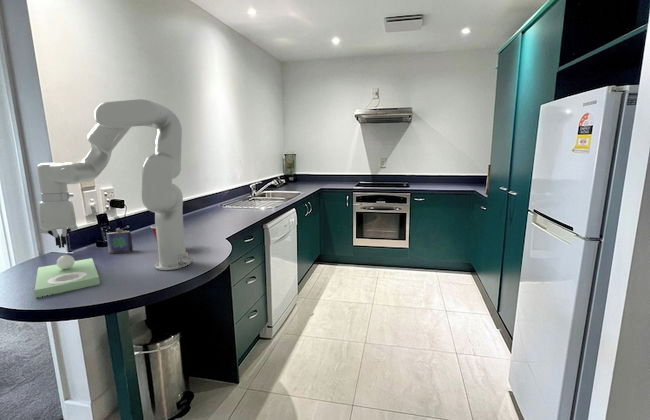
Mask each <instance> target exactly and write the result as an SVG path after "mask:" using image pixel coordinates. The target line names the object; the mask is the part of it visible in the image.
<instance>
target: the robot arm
mask: <svg viewBox="0 0 650 420" xmlns="http://www.w3.org/2000/svg"><path fill="white" fill-rule="evenodd" d="M93 114H94V115H93V116H94V120H95V121H96V123H97V124H95V125H94V126H93V128H92V129H91V130H90V132H89V133H88V134H87V136H86V138H87V140H88V142H89V143H90V150H89V152H88V153H87V155H86V156H85V157H84V158H83V159H82V160H81V161H78V162H77V161H76V162H75V161H74V162H64V163H61V162H42V163H39V164H38V165H37V166H36V167H37V168H36V169H37V177H38V183H39V190H40V197H41V201H39V202H38V218H39V226H40V227H39V229H40V230H39V233H40V234H46V235H47V234H48V235H50V236H52V237H54V239H55V240H54V241H55V246H56V247H57V246H58V248H59V249H61V248H65V245H67V238H66V237H67V235H68V234H69V233H70V232H73V231H75V230H78V228H79V227H78V225H77V219H76V213H75V207H74V205H73V202H72V200H71V199H70V198H74V193H69V192H68V185H76V184H84V183H90V182H92V181H94V180H96V179H97V178H98V177H99V175H100V174H101V173H103V171H104V170H105V168H106V167H108V164H109V162H110V159H111V156H112V152H113V150H114V149H115V148H116V147H117V145H118V144H119V143H120V142H121V141H122V139H123V138H124V136H125V135H126V134H127V133H128V132H129V131H130V129H131V128H133V127H149V128H154V129H156V131H157V133H156V138H155V150H154V151H155V153H153V154H150V156H149V155H148V157H147V158H146V159H145V160H144V163H143V164H142V172H141V174H142V175H141V181H142V182H141V200H142V201H141V202H142V204H143V206H144V207H145V209H147V210H148V211H149V212H151V213H154V223H155V224H154V225H155V226H156V236H157V241H156V243H157V244H156V245H157V252H158V261H157V262H156V263H155V264H154V268H155V269H156V270H159V271H172V270H173V271H174V270H177V269H182V267H183V268H185V266H186V267H188V266H189V265H190V264H192V261H193V260H194V257H193V256H189V253H188V252H187V251H186V241H185V240H186V239H185V238H186V237H185V229H184V217H183V205H184V197H183V193H182V190H181V188H180V187H179V186H178V185H176V184H174V183H173V179H175V178H177V177H179V175H180V173H181V171H182V143H183V142H182V140H183V129H182V128H183V127H182V123H181V121H180V119H179V117H178V116H177V115H176V113H174V112H173V111H172V110H171V109H169V108H167V107H166V106H164V105H162V104H159V103H156V102H154V101H152V100H148V99H141V98H139V99H129V100H128V99H127V100H117V101H116V100H114V101H105V102H102V103H99V105H97V107H95V110H94V112H93ZM58 230H62V231H61V234H58ZM187 265H188V266H187Z"/></svg>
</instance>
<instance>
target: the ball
mask: <svg viewBox="0 0 650 420" xmlns="http://www.w3.org/2000/svg"><path fill="white" fill-rule="evenodd" d="M75 261H76V260H75V259H74V257H73V256H72V255H69V254H65V255H61V256H59V258H57V260H56V264H57V266H58V267H59V268H60V269H69V268H71V267H72V266H73V265H74V263H75Z"/></svg>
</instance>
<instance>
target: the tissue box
mask: <svg viewBox="0 0 650 420" xmlns="http://www.w3.org/2000/svg"><path fill="white" fill-rule="evenodd" d="M99 285H101V281H100V275H99V274H98V270H97V267H96V265H95V262H94V260H93V258H92V257H91V258H86V259H85V258H84V259H78V260H75V263H74V265H73V266H72V267H71V268H69V269H60V268H59V267H58V266H57V263H56V264H52V265H51V264H50V265H46V266H38V267H37V272H36V280H35V286H34V294H35V295H34V296H35V298H36V299H38V298H37V297H39V298H43V297H48V296H53V295H56V294H61V293H65V292H66V293H67V292H70V291H75V290H79V289H84V288H89V287H93V286H99ZM52 294H53V295H52ZM47 295H48V296H47ZM42 296H43V297H42Z"/></svg>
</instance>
